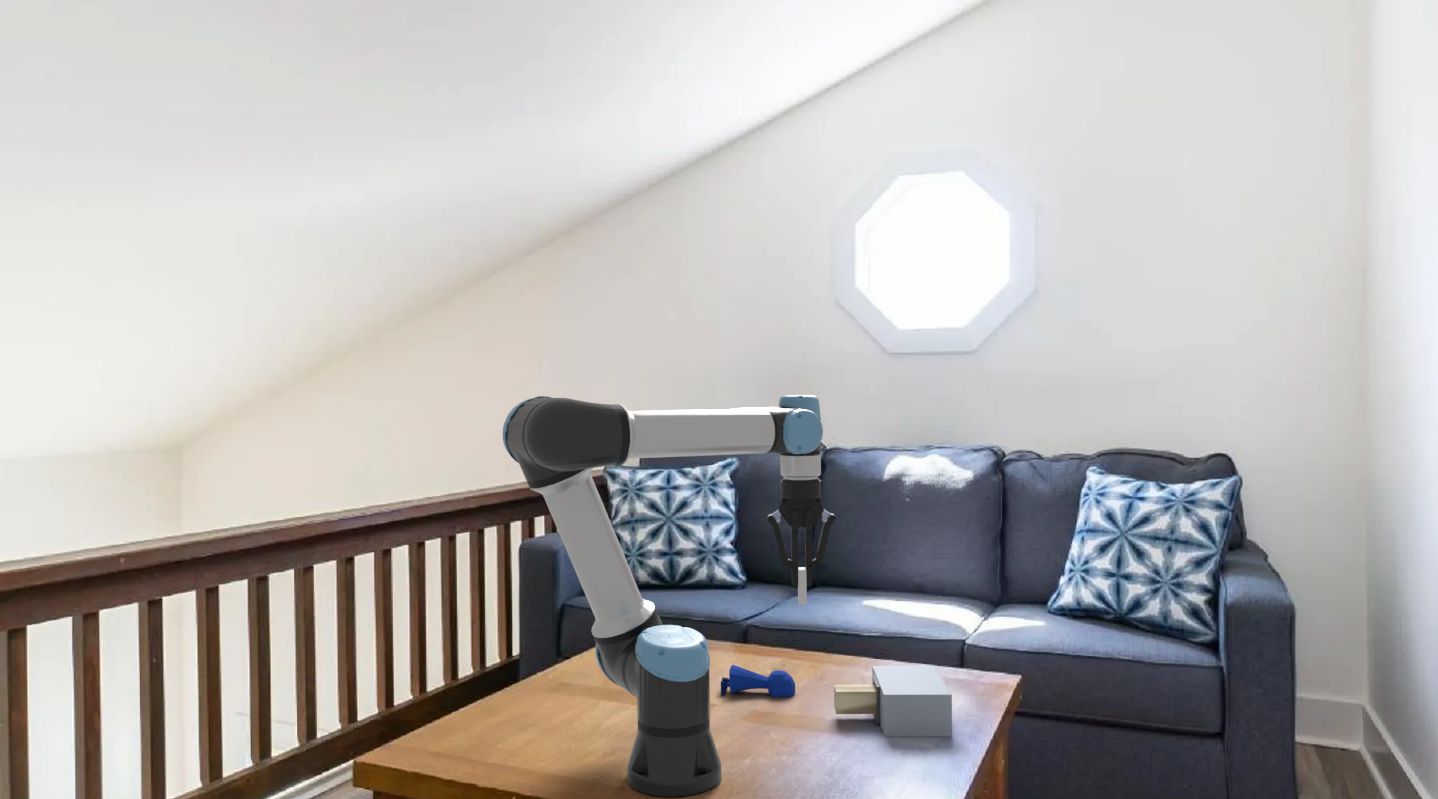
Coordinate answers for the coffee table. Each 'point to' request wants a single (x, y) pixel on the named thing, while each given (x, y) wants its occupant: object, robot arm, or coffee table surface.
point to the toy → (759, 682)
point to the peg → (855, 699)
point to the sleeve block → (912, 701)
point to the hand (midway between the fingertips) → (802, 603)
